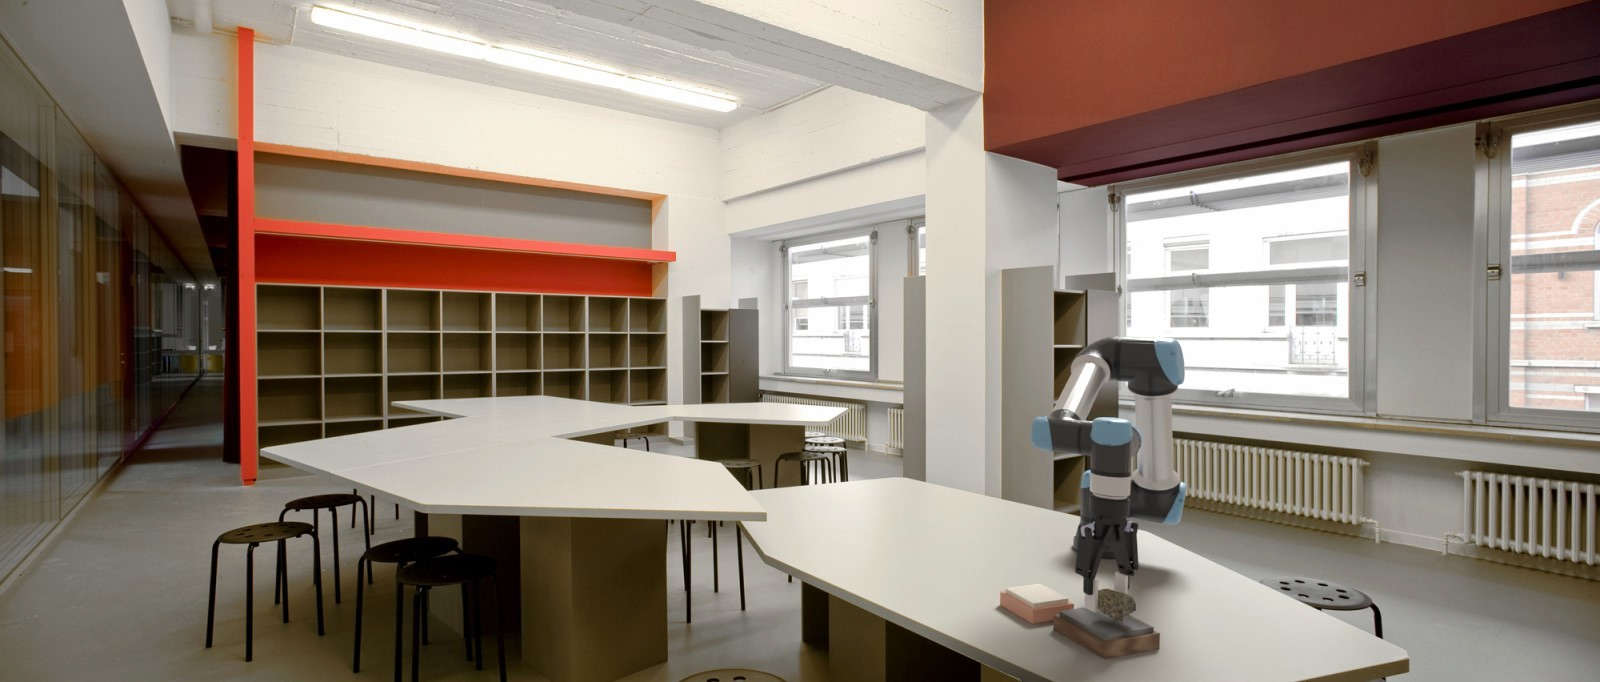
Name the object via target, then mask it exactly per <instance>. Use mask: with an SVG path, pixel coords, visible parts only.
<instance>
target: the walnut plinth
mask: <svg viewBox="0 0 1600 682" xmlns="http://www.w3.org/2000/svg"><path fill="white" fill-rule="evenodd" d="M1123 620H1124V621H1120V620H1115V618H1113V617H1110V616H1109V615H1106V614H1104V613H1103V612H1101V610H1100V609H1098V612H1095V613H1094V612H1092V611H1091V610H1089V609H1087V608H1085V606H1083V607H1079V608H1078V607H1077V608H1074V609H1070V610H1064V611H1060V614H1056V615H1054V621H1053V630H1054V631H1056V632H1058V633H1059V634H1061V635H1063V636H1065V637H1066V638H1068V639H1070V640H1071V641H1073V642H1075V643H1077V644H1078V645H1080V646H1082V647H1083V648H1085V649H1087V650H1088V651H1091V652H1092V653H1094V654H1096V656H1097V655H1098V656H1099V657H1101V659H1102V658H1103V659H1104V660H1106V659H1109V658H1110V659H1111V658H1116V657H1121V656H1127V655H1132V654H1136V653H1142V652H1147V651H1153V650H1157V649H1160V646H1161V645H1160V643H1161V632H1157V631H1156V630H1155V629H1154V626H1152V625H1150V624H1149V623H1146V622H1144V621H1142V620H1140V619H1138V618H1136V617H1134V616H1132V615H1131V614H1129V615H1126V616H1125V617H1124V619H1123Z"/></svg>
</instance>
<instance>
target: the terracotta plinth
mask: <svg viewBox="0 0 1600 682" xmlns="http://www.w3.org/2000/svg"><path fill="white" fill-rule="evenodd" d="M999 597H1000V598H999V605H1000V606H1002V607H1003V608H1004V609H1006V610H1008V611H1009V612H1011V613H1013V614H1015V615H1016V616H1019V618H1022V619H1023V620H1025V621H1027V622H1028V623H1030V624H1031V625H1035V624H1041V623H1042V624H1043V623H1046V622H1048V623H1049V622H1054V615H1056V614H1060V611H1064V610H1070V609H1075V603H1073V602H1072V601H1070V599H1069V597H1066V596H1065V595H1063V594H1060V593H1059V592H1057V591H1055V590H1053V589H1051V588H1049V587H1047V586H1045V585H1043V584H1041V583H1033V584H1027V585H1026V584H1025V585H1019V586H1012V587H1005V590H1002V591H1000V594H999Z"/></svg>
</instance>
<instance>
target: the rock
mask: <svg viewBox="0 0 1600 682" xmlns="http://www.w3.org/2000/svg"><path fill="white" fill-rule="evenodd" d="M1098 609H1100V610H1101V612H1103V613H1104V614H1106V615H1109V616H1110V617H1113V618H1115V620H1120V621H1124V620H1123V619H1124V617H1125V616H1126V615H1131V614H1133V613H1134V612H1136V610H1137V604H1136V601H1135V599H1134V598H1133V596H1131V595H1129V594H1128V595H1127V594H1125V593H1121V592H1116V591H1114V589H1109V588H1101V589H1098Z"/></svg>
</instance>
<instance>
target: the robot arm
mask: <svg viewBox="0 0 1600 682" xmlns="http://www.w3.org/2000/svg"><path fill="white" fill-rule="evenodd" d="M1185 372H1186V371H1185V358H1184V354H1183V349H1182V347H1181V344H1180V342H1179V341H1178V340H1177V339H1175V338H1171V337H1161V336H1155V337H1154V336H1152V337H1151V336H1117V335H1116V336H1115V335H1113V336H1108V337H1103V338H1101V339H1098V340H1096V341H1094V342H1092V343H1090V344H1088V345H1087V346H1086V347H1084V348H1083V349H1082V350H1080V352H1078V354H1076V356H1075V357H1074V359H1073V361H1072V363H1071V366H1070V373H1071V374H1070V376H1069V378H1068V380H1067V382H1066V383H1065V385H1064V387H1063V389H1062V391H1061V393H1060V396H1059V397H1058V399H1057V401H1056V403H1055V404H1054V407H1053V409H1052V411H1051V413H1050V415H1049V416H1047V415H1044V416H1037V417H1035V418H1034V419H1033V421H1032V424H1031V430H1030V431H1031V432H1030V437H1031V439H1030V440H1031V443H1032V446H1033V447H1034V448H1035V449H1037V450H1040V451H1041V450H1042V451H1047V452H1048V451H1049V452H1050V453H1052V452H1053V453H1054V452H1055V453H1065V454H1074V455H1076V454H1077V455H1083V456H1090V469H1088V470H1086V471H1084V472H1083V474H1082V477H1081V485H1080V489H1081V490H1080V520H1079V524H1078V526H1077V528H1076V533H1075V535H1074V537H1073V540H1072V547H1073V549H1074V550H1076V551H1077V552H1076V558H1075V559H1076V560H1075V566H1074V567H1075V568H1074V573H1075V574H1077V575H1079V576H1082V578H1083V585H1082V587H1083V588H1082V591H1083V593H1084V607H1085V608H1087V609H1089V610H1091V611H1092V612H1094V613H1095V612H1098V590H1099V583H1100V582H1099V581H1100V580H1099V579H1098V578H1096V577H1097V574H1098V571H1099V570H1098V569H1099V568H1100V567H1099V566H1100V563H1101V560H1102V558H1103V559H1115V563H1116V565H1117V566H1116V567H1117V570H1118V571H1114V589H1113V591H1116V592H1121V593H1125V594H1127V595H1129V594H1128V591H1129V590H1130V579H1131V577H1133V576H1135V574H1136V572H1135V571H1138V570H1139V569H1140V567H1139V552H1138V550H1139V549H1138V530H1139V523H1138V522H1135V521H1132V519H1133V520H1138V521H1146V522H1151V523H1157V524H1160V525H1164V524H1165V525H1172V526H1173V525H1175V526H1176V525H1178V524H1179V523H1180V522H1181V521H1182V516H1183V511H1184V505H1185V499H1186V495H1187V494H1186V493H1187V488H1188V487H1187V483H1185V482H1183V481H1181V478H1180V475H1179V473H1178V472H1176V471H1175V470H1174V448H1173V446H1174V445H1173V443H1174V442H1173V441H1174V440H1173V411H1172V410H1173V408H1172V406H1173V405H1172V395H1173V394H1175V393H1176V392H1177V391H1178V389H1179V385H1183V384H1184V382H1185ZM1109 381H1112V382H1113V381H1114V382H1115V381H1117V382H1127V389H1128V391H1129V392H1130V393H1132V394H1133V395H1134V412H1135V425H1134V424H1132V422H1131V421H1130V420H1129V419H1126V418H1119V417H1106V416H1105V417H1096V418H1094V419H1093V420H1092V421H1091V420H1087V417H1088V416H1089V414H1090V411H1091V409H1092V407H1093V404H1094V402H1095V401H1096V398H1097V396H1098V395H1099V394H1098V393H1099V392H1100V389H1101V387H1102V386H1105V385H1106V384H1107V383H1108V382H1109ZM1136 455H1137V468H1136V469H1135V470H1134V471H1133V473H1132V475H1131V470H1132V469H1131V465H1132V457H1135V456H1136ZM1130 519H1131V520H1130ZM1130 576H1131V577H1130Z"/></svg>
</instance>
